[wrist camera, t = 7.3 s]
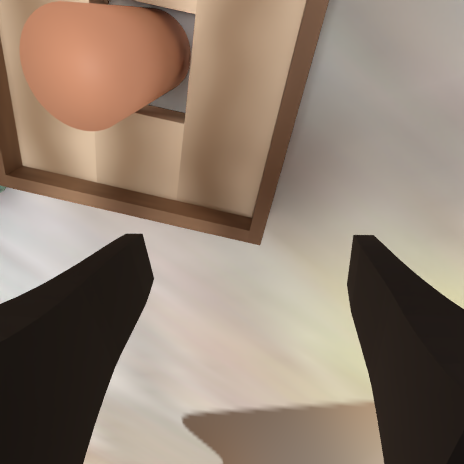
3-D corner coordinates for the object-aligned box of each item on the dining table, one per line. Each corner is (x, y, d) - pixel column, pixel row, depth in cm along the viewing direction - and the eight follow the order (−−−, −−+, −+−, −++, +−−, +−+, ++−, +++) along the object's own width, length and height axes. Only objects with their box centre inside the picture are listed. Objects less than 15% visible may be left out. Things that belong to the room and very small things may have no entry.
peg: (197, 20, 17) (139, 22, 10) (184, 100, 19) (129, 144, 13) (120, -3, 17) (13, -16, 10) (116, 80, 19) (25, 113, 13)
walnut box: (353, -114, 14) (371, -150, 11) (263, 215, 23) (260, 245, 20) (-23, -194, 14) (-105, -250, 11) (32, 163, 23) (-5, 184, 20)
